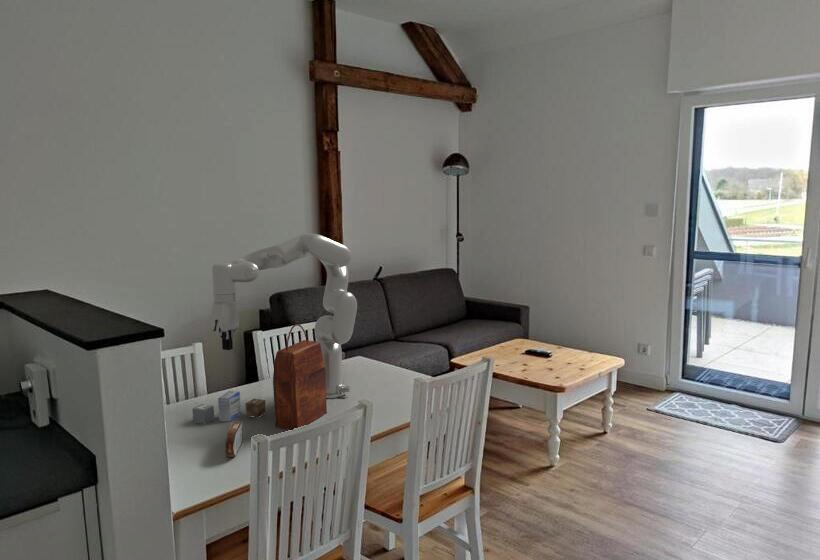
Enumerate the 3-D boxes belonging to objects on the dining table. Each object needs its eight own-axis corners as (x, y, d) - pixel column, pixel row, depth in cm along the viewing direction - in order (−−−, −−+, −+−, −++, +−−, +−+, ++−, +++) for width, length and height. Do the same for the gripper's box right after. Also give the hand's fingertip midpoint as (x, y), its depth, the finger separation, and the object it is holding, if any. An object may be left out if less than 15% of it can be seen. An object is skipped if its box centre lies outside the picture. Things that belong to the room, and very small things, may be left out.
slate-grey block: (214, 419, 209) (213, 405, 209) (204, 424, 205) (204, 409, 204) (202, 417, 211) (201, 403, 210) (193, 422, 206) (192, 408, 206)
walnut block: (265, 413, 215) (265, 399, 214) (257, 418, 210) (257, 404, 210) (254, 411, 217) (253, 397, 216) (246, 416, 212) (245, 402, 211)
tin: (235, 441, 190) (233, 416, 189) (245, 441, 190) (243, 416, 189) (224, 462, 175) (223, 435, 174) (235, 461, 176) (234, 434, 174)
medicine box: (230, 422, 206) (229, 398, 205) (218, 421, 207) (217, 397, 206) (241, 413, 214) (240, 391, 213) (230, 413, 215) (228, 390, 214)
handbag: (272, 427, 202) (267, 328, 197) (305, 407, 220) (301, 316, 214) (297, 432, 198) (292, 331, 192) (329, 412, 215) (325, 319, 210)
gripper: (229, 294, 213) (231, 343, 216) (201, 301, 199) (204, 353, 202) (246, 295, 211) (249, 345, 213) (220, 302, 197) (223, 355, 199)
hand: (227, 349), depth 208 cm, fingers closed
